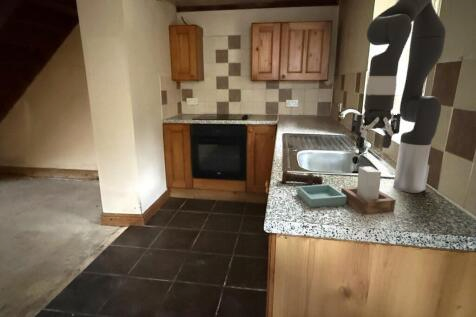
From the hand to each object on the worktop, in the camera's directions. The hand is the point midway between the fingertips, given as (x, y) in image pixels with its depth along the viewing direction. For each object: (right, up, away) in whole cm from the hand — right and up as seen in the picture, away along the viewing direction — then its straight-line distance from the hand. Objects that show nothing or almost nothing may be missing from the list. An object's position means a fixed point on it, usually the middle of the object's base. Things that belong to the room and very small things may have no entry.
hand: (372, 148), depth 84 cm
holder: (0, -18, +5) cm, 19 cm away
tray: (-13, -17, +9) cm, 23 cm away
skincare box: (0, -18, +5) cm, 19 cm away
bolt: (-16, -13, +24) cm, 32 cm away
